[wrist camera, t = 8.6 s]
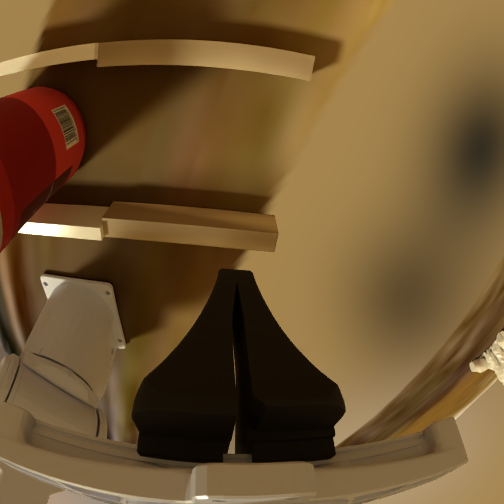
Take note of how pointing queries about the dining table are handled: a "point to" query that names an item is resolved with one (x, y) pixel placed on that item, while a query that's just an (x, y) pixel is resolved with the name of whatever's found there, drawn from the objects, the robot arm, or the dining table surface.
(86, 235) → the open frame
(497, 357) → the white creature statuette
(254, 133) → the dining table surface
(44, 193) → the canned food
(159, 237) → the rail channel
